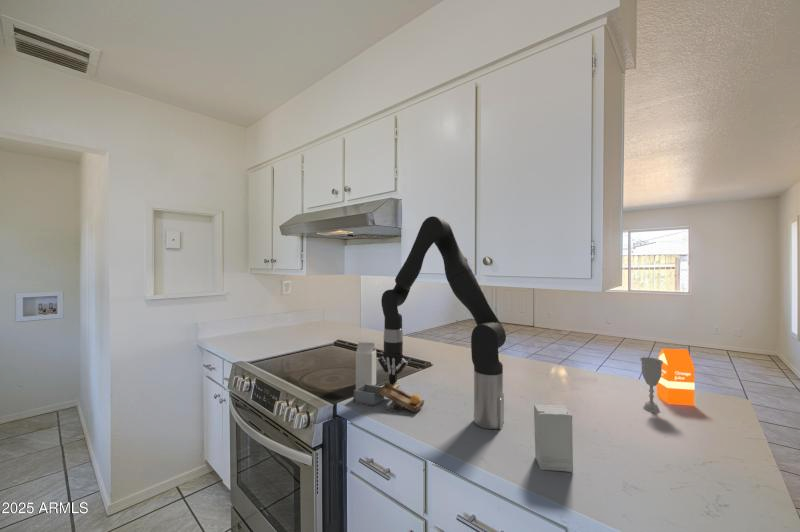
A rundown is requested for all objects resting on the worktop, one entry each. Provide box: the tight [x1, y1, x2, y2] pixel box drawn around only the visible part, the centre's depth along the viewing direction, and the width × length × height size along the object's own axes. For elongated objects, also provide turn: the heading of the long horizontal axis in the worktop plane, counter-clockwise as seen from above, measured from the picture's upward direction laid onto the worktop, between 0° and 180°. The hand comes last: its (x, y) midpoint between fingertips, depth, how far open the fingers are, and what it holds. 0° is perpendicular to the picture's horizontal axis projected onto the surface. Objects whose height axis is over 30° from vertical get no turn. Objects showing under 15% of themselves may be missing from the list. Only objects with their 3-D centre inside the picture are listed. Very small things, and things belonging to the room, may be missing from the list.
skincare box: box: [533, 404, 574, 473], centre depth 87 cm, size 8×6×15 cm
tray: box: [352, 384, 385, 407], centre depth 128 cm, size 9×8×4 cm
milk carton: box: [355, 341, 377, 389], centre depth 143 cm, size 7×7×19 cm
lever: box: [377, 381, 425, 413], centre depth 125 cm, size 17×12×2 cm
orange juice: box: [656, 348, 695, 407], centre depth 129 cm, size 8×9×20 cm
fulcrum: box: [384, 401, 404, 413], centre depth 123 cm, size 5×9×3 cm, turn 154°
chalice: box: [639, 356, 663, 414], centre depth 120 cm, size 7×7×18 cm
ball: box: [410, 394, 421, 405], centre depth 120 cm, size 4×4×4 cm
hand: (392, 383), depth 131 cm, fingers closed
